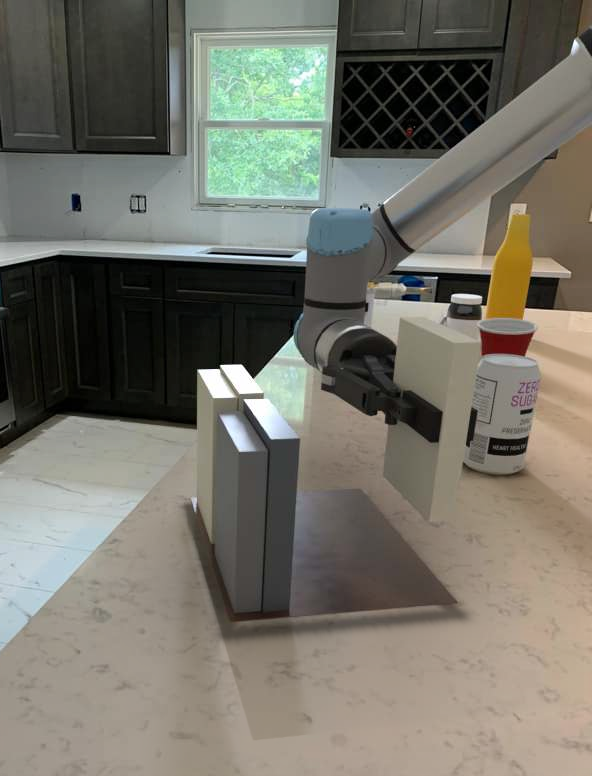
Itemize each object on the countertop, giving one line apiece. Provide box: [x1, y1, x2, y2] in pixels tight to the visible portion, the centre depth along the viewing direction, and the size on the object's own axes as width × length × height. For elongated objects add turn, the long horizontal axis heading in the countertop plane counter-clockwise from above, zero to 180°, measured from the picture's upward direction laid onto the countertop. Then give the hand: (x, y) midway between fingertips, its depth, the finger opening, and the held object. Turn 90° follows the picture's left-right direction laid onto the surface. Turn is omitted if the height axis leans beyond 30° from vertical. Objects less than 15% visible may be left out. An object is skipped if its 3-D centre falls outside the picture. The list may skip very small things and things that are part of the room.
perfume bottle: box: [364, 280, 380, 329], centre depth 155 cm, size 6×6×20 cm
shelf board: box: [189, 488, 459, 623], centre depth 76 cm, size 21×26×2 cm
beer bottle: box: [483, 213, 534, 320], centre depth 181 cm, size 9×9×29 cm
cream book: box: [382, 316, 481, 524], centre depth 66 cm, size 2×11×16 cm, turn 11°
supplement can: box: [463, 354, 542, 476], centre depth 98 cm, size 8×8×15 cm
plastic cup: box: [477, 318, 539, 361], centre depth 139 cm, size 11×11×12 cm
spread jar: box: [433, 293, 483, 341], centre depth 172 cm, size 12×11×12 cm
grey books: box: [215, 398, 301, 613], centre depth 65 cm, size 5×11×16 cm, turn 10°
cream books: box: [196, 364, 265, 544], centre depth 77 cm, size 5×11×16 cm, turn 10°
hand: (453, 426), depth 61 cm, fingers closed on cream book, 2 cm apart
